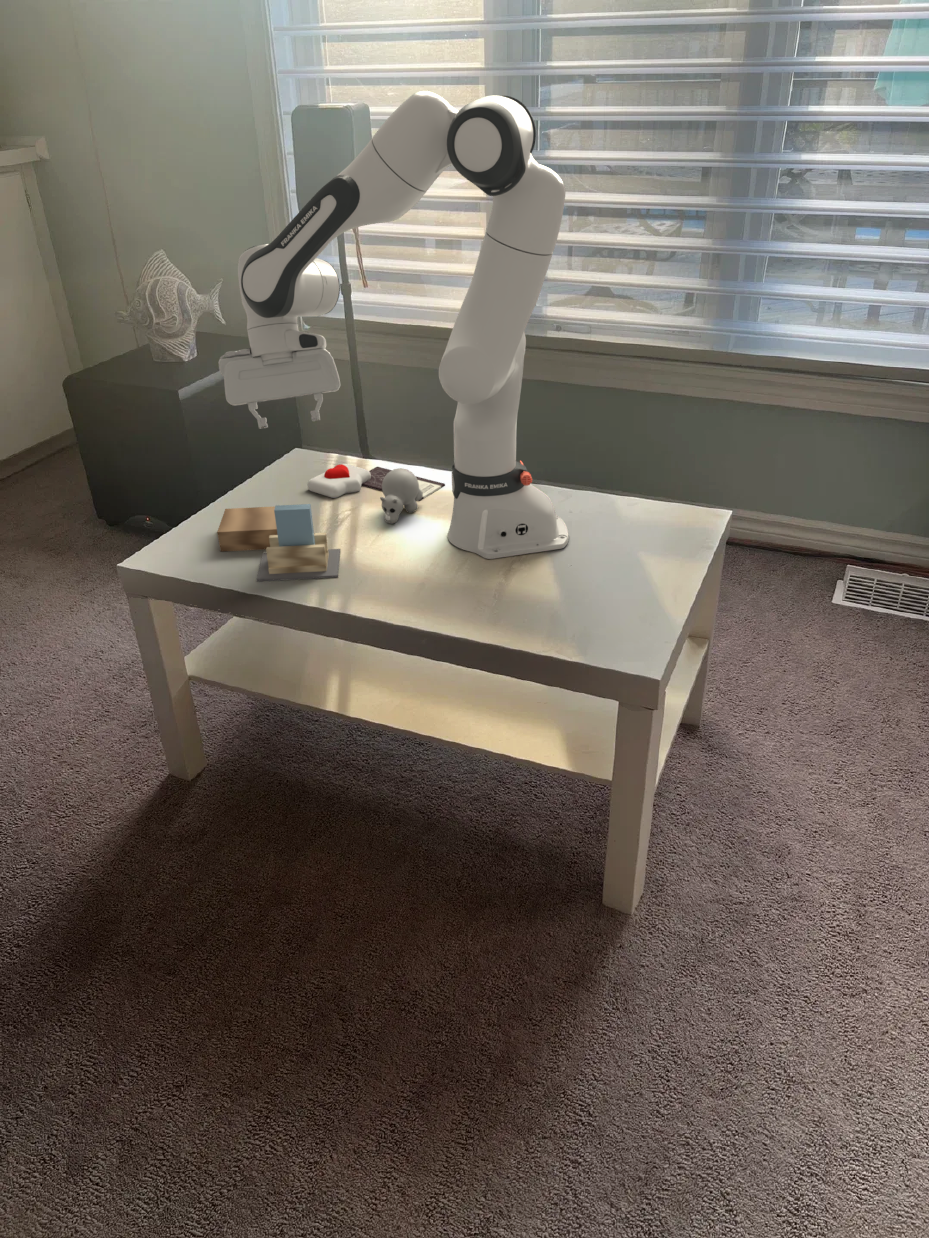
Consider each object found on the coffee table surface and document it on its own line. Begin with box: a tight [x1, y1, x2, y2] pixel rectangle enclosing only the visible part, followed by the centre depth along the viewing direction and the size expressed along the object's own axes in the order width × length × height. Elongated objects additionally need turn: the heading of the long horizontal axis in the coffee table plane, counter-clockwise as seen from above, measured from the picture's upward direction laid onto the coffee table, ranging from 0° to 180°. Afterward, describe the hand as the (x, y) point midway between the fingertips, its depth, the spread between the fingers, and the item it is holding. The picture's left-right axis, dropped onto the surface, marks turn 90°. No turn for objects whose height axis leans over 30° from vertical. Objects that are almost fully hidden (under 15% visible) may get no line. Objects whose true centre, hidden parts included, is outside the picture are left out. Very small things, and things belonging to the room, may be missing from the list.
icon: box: [306, 463, 371, 499], centre depth 192 cm, size 12×4×10 cm
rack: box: [265, 532, 329, 574], centre depth 162 cm, size 10×7×5 cm, turn 94°
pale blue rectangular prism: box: [274, 503, 315, 547], centre depth 160 cm, size 6×2×10 cm, turn 94°
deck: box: [216, 505, 278, 552], centre depth 172 cm, size 12×10×4 cm
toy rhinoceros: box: [379, 467, 423, 525], centre depth 178 cm, size 7×12×8 cm, turn 159°
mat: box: [255, 548, 341, 582], centre depth 163 cm, size 14×10×1 cm
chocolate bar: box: [361, 466, 446, 502], centre depth 193 cm, size 9×1×18 cm
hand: (289, 424), depth 164 cm, fingers open, 8 cm apart
